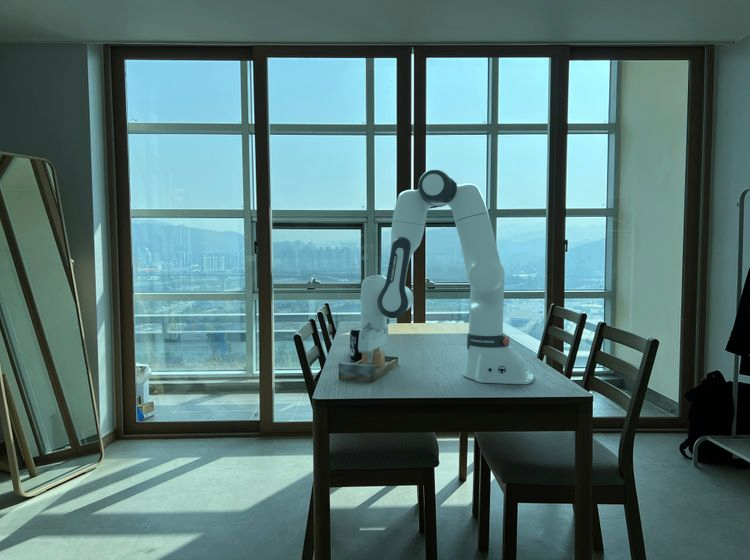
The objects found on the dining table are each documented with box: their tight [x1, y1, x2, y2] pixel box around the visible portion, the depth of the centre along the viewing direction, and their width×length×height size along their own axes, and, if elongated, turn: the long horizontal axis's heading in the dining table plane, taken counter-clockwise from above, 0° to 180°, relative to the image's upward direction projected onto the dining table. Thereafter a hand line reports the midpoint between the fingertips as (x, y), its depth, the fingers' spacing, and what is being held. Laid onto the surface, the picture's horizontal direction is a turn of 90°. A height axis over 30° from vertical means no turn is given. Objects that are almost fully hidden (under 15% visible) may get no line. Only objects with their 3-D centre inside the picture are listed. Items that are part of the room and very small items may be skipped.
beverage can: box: [349, 326, 363, 363], centre depth 195 cm, size 7×7×12 cm
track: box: [338, 354, 399, 383], centre depth 178 cm, size 12×26×5 cm, turn 160°
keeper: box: [362, 350, 386, 368], centre depth 181 cm, size 7×4×5 cm, turn 70°
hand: (373, 361), depth 181 cm, fingers closed on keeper, 4 cm apart
